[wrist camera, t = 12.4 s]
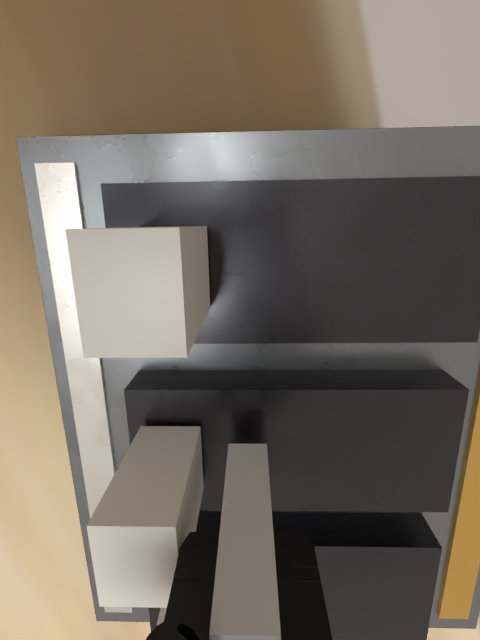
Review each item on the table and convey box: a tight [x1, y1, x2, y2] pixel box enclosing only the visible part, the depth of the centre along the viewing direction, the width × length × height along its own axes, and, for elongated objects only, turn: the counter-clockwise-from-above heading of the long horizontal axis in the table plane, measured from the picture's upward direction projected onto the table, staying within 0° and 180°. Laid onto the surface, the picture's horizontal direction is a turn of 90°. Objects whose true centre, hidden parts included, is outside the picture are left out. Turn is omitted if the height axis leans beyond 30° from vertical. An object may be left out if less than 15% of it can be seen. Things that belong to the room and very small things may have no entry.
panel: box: [16, 126, 480, 640], centre depth 17 cm, size 26×22×4 cm
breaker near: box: [65, 226, 210, 358], centre depth 10 cm, size 3×2×5 cm
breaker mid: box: [87, 426, 204, 608], centre depth 13 cm, size 3×2×5 cm
